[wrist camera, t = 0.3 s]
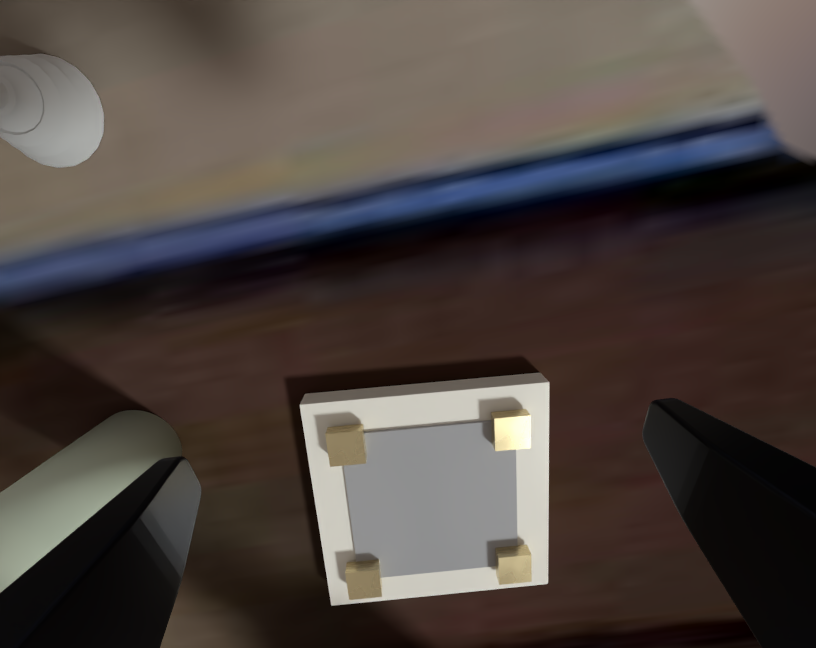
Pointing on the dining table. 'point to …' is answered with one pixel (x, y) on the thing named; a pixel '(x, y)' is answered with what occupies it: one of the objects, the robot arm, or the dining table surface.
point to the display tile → (431, 486)
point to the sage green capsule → (77, 486)
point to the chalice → (49, 109)
